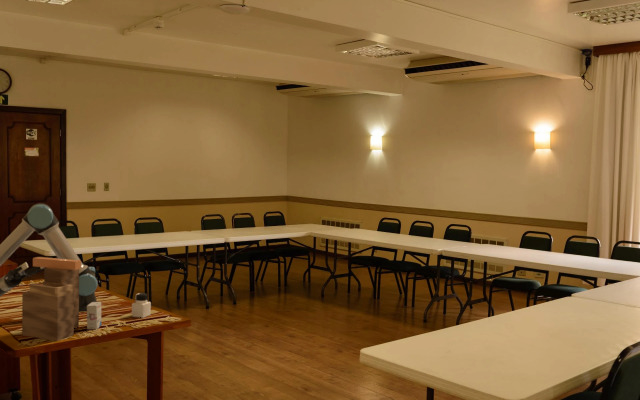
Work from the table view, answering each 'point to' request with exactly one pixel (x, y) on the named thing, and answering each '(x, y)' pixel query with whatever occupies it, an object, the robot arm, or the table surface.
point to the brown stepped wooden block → (52, 305)
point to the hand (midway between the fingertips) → (38, 262)
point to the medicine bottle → (141, 306)
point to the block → (57, 263)
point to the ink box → (94, 315)
